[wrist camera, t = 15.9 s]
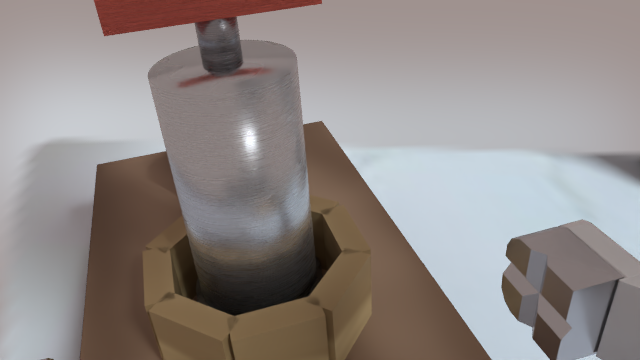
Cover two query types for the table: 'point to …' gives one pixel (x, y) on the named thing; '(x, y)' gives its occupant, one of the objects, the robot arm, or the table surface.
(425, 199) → the table surface
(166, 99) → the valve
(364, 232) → the manifold block
